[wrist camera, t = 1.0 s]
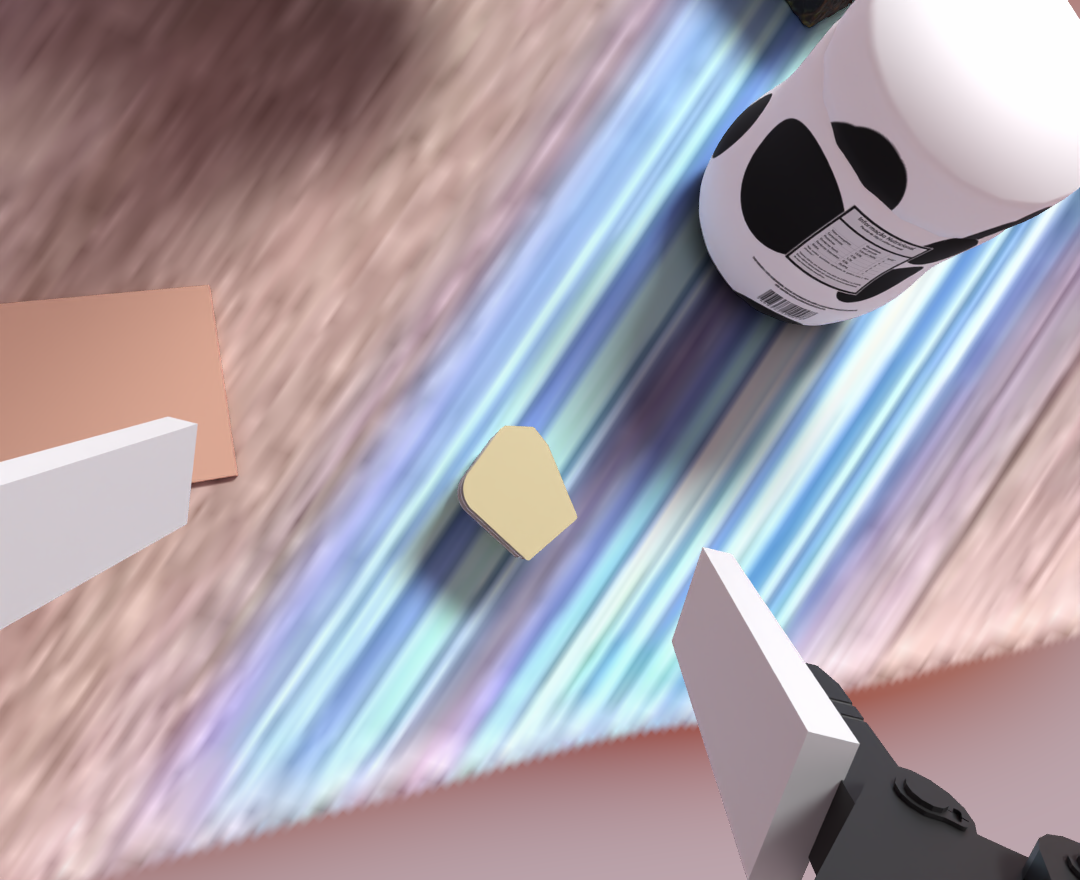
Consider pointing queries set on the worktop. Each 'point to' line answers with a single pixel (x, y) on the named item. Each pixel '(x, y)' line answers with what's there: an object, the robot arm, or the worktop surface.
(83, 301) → the coaster
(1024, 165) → the milk container
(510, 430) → the stacked layers on plate
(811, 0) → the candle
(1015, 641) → the worktop surface
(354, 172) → the worktop surface
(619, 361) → the worktop surface
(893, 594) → the worktop surface
